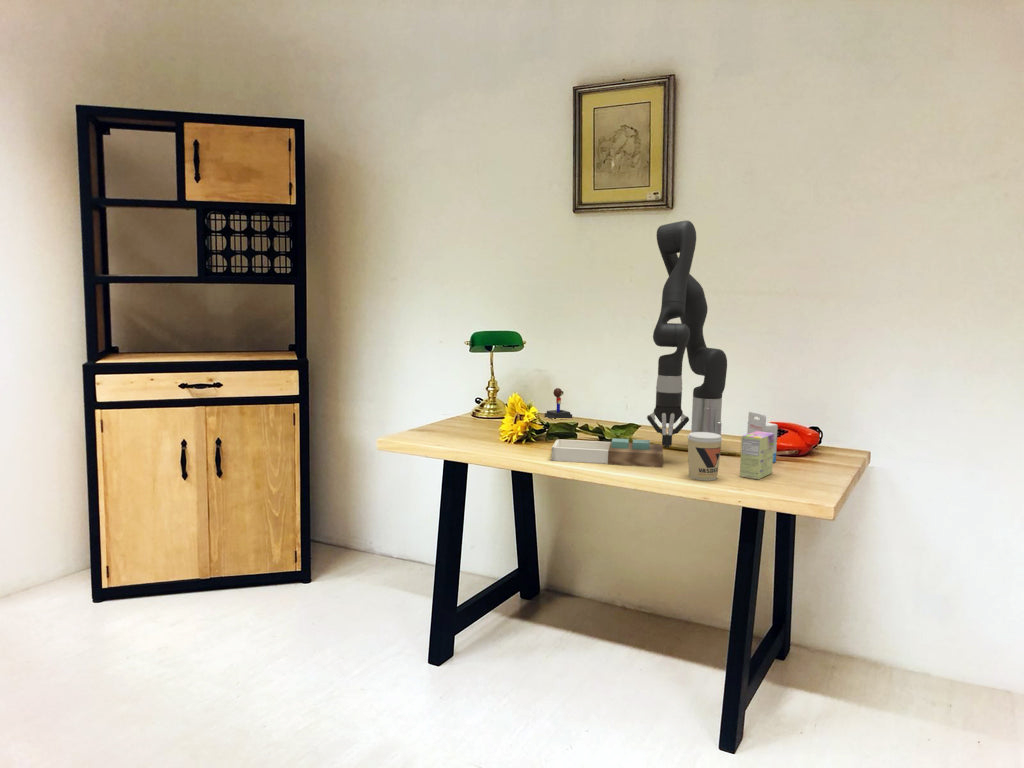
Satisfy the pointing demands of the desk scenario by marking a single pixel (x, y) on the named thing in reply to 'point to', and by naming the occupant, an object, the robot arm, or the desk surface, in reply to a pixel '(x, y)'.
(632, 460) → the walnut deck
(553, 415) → the figurine
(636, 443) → the tile
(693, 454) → the coffee cup
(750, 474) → the box
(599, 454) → the tray
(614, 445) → the tile
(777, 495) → the desk surface
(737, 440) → the desk surface
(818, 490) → the desk surface
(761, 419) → the ink box
